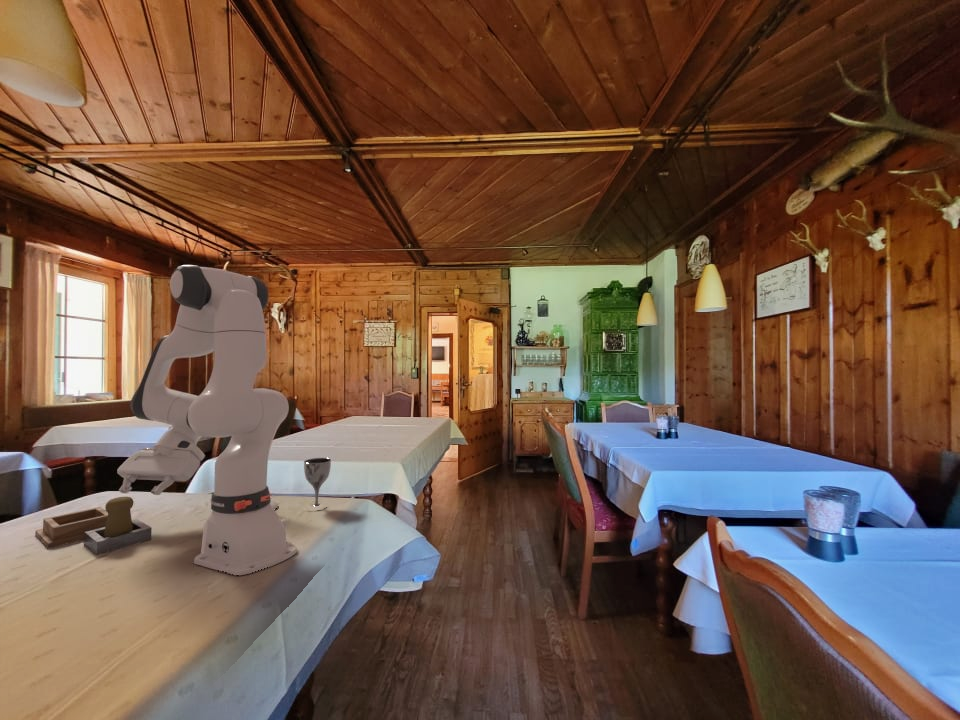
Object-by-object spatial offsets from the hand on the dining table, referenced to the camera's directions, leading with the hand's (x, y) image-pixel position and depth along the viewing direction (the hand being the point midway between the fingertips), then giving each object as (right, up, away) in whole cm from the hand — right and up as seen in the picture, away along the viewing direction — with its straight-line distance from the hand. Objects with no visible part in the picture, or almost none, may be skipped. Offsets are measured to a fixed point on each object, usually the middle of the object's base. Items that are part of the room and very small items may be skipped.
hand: (138, 493), depth 103 cm
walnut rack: (-16, -10, 0) cm, 19 cm away
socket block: (-1, -10, -5) cm, 12 cm away
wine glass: (+39, -12, +21) cm, 45 cm away
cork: (-1, -11, -5) cm, 12 cm away
